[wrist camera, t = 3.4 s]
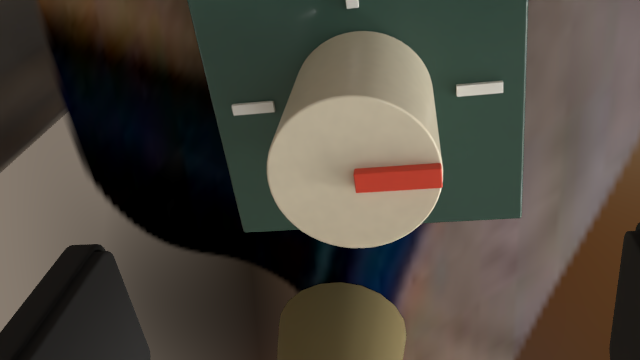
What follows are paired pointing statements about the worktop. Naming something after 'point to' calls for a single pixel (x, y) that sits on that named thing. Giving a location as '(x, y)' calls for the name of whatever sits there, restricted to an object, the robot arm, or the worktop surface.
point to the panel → (413, 30)
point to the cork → (340, 325)
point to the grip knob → (358, 143)
